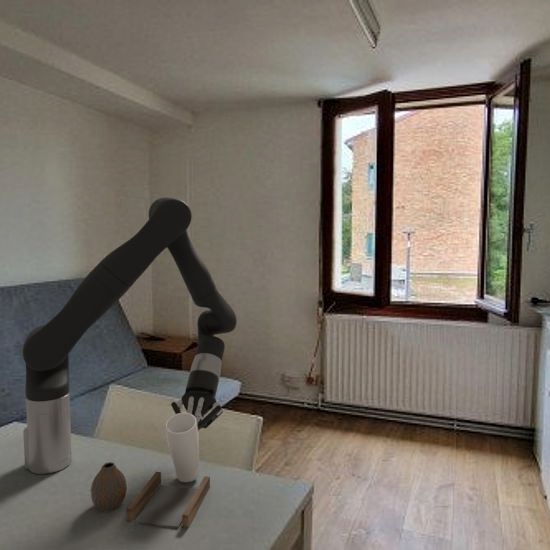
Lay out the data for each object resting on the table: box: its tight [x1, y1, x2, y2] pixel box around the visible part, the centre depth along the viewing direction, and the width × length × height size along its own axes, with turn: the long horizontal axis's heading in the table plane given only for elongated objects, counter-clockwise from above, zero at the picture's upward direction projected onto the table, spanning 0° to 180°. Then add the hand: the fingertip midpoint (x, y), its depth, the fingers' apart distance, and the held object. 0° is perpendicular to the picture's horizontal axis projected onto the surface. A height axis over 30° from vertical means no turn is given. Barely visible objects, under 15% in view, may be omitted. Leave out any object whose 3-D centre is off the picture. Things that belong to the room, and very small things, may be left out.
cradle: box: [126, 471, 211, 529], centre depth 96 cm, size 12×14×2 cm
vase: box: [90, 461, 128, 513], centre depth 94 cm, size 7×7×9 cm
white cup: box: [164, 412, 201, 483], centre depth 103 cm, size 7×7×15 cm
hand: (188, 444), depth 106 cm, fingers closed
